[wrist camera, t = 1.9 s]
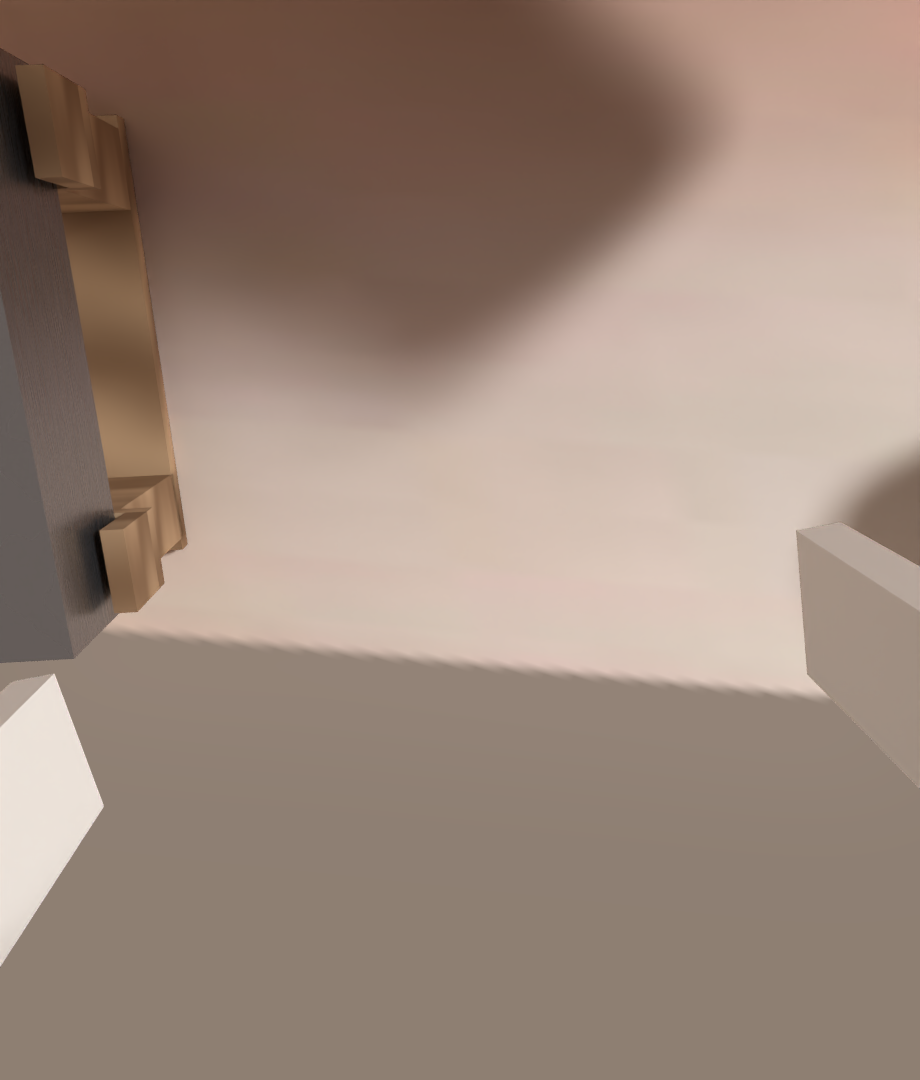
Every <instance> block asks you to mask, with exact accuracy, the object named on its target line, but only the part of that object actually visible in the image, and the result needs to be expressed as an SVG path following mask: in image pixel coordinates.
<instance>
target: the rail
mask: <svg viewBox="0 0 920 1080" xmlns="http://www.w3.org/2000/svg"><path fill="white" fill-rule="evenodd" d="M15 65H29V64H27V63H25V62H23V61H22V60H20V59H18V58H17V57H15V56H13V55H11V54H10V53H8V52H6V51H4V50H3V49H1V48H0V663H6V662H24V661H41V660H59V659H74V658H75V657H76V656H77V655H78V654H79V653H80V652H81V651H82V650H83V649H84V648H85V647H86V646H87V645H88V644H89V643H90V642H91V641H92V640H93V639H94V638H95V637H96V636H97V635H98V634H99V633H100V632H101V631H102V630H103V629H104V628H105V627H106V626H107V625H108V624H109V623H110V622H111V621H112V620H113V619H114V618H115V617H116V616H117V615H118V614H119V613H114V609H113V603H112V597H111V592H110V586H109V581H108V575H107V570H106V564H105V559H104V553H103V548H102V542H101V537H100V531H99V530H101V529H102V528H104V527H105V526H107V525H108V524H109V523H111V522H112V521H114V520H115V516H114V510H113V505H112V499H111V493H110V487H109V482H108V476H107V470H106V465H105V459H104V453H103V447H102V442H101V436H100V430H99V424H98V419H97V413H96V407H95V402H94V396H93V390H92V384H91V379H90V373H89V367H88V362H87V356H86V350H85V344H84V339H83V333H82V327H81V322H80V316H79V310H78V304H77V299H76V293H75V287H74V282H73V276H72V270H71V264H70V259H69V253H68V247H67V242H66V236H65V230H64V224H63V219H62V213H61V207H60V201H59V196H58V190H57V184H54V183H51V182H47V181H44V180H41V179H37V178H35V173H34V167H33V162H32V156H31V151H30V145H29V140H28V134H27V129H26V123H25V118H24V112H23V107H22V101H21V96H20V90H19V85H18V79H17V74H16V68H15Z"/></svg>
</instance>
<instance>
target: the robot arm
mask: <svg viewBox="0 0 920 1080" xmlns="http://www.w3.org/2000/svg"><path fill="white" fill-rule="evenodd" d="M796 534H797V547H798V560H799V573H800V586H801V599H802V612H803V625H804V638H805V651H806V664H807V674H808V675H809V676H810V677H811V678H812V679H813V681H814V682H815V683H816V684H817V685H818V686H819V687H820V688H821V689H822V690H823V691H824V692H825V693H826V694H827V695H828V696H829V697H830V698H831V699H832V700H833V701H834V702H835V703H836V704H837V705H838V706H839V707H840V708H841V709H842V710H843V711H844V712H845V713H846V714H847V715H848V716H849V717H850V718H851V719H852V720H853V721H854V722H855V723H856V724H857V725H858V726H859V727H860V728H861V729H862V730H863V732H864V733H866V734H867V736H868V737H869V738H870V739H871V740H872V741H873V742H874V743H875V744H876V745H877V746H878V747H879V748H880V749H881V750H882V751H883V752H884V753H885V754H886V755H887V756H888V757H889V758H890V759H891V760H892V761H893V762H894V763H895V764H896V765H897V766H898V767H899V768H900V769H901V770H902V771H903V772H904V773H905V774H906V775H907V776H908V777H909V778H910V779H911V780H912V781H913V782H914V784H916V786H917V787H918V788H919V789H920V566H918V565H916V564H915V563H913V562H911V561H909V560H908V559H906V558H904V557H902V556H900V555H899V554H897V553H895V552H893V551H892V550H890V549H888V548H886V547H884V546H883V545H881V544H879V543H877V542H875V541H874V540H872V539H870V538H868V537H867V536H865V535H863V534H861V533H859V532H858V531H856V530H854V529H852V528H851V527H849V526H847V525H845V524H843V523H842V522H838V523H833V524H828V525H822V526H817V527H812V528H807V529H802V530H797V531H796ZM103 807H104V805H103V803H102V800H101V798H100V795H99V792H98V789H97V786H96V784H95V781H94V779H93V776H92V773H91V771H90V768H89V765H88V763H87V760H86V757H85V754H84V752H83V749H82V746H81V744H80V741H79V738H78V736H77V733H76V730H75V728H74V725H73V723H72V720H71V717H70V714H69V712H68V709H67V706H66V704H65V701H64V698H63V696H62V693H61V690H60V688H59V685H58V682H57V679H56V677H55V674H50V675H44V676H39V677H34V678H29V679H23V680H18V681H13V682H11V683H10V684H9V685H8V686H7V687H6V688H5V689H4V690H2V692H0V966H1V964H2V963H3V961H4V960H5V958H6V957H7V955H8V953H9V952H10V950H11V949H12V947H13V946H14V944H15V943H16V941H17V940H18V938H19V937H20V935H21V933H22V932H23V930H24V929H25V927H26V926H27V924H28V923H29V921H30V919H31V918H32V916H33V915H34V913H35V912H36V910H37V909H38V907H39V906H40V904H41V903H42V901H43V900H44V898H45V896H46V895H47V893H48V892H49V890H50V889H51V887H52V886H53V884H54V883H55V881H56V879H57V878H58V876H59V875H60V873H61V871H62V870H63V869H64V867H65V866H66V864H67V862H68V861H69V859H70V858H71V856H72V855H73V853H74V851H75V850H76V848H77V847H78V845H79V844H80V842H81V841H82V839H83V838H84V836H85V835H86V833H87V831H88V830H89V828H90V827H91V825H92V824H93V822H94V821H95V819H96V817H97V816H98V815H99V813H100V811H101V810H102V808H103Z"/></svg>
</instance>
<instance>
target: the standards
mask: <svg viewBox="0 0 920 1080" xmlns="http://www.w3.org/2000/svg"><path fill="white" fill-rule="evenodd" d="M15 68H16V74H17V79H18V85H19V90H20V96H21V101H22V107H23V112H24V118H25V123H26V129H27V134H28V140H29V145H30V151H31V156H32V162H33V167H34V173H35V178H37V179H41V180H44V181H47V182H51V183H54V184H57V190H58V196H59V201H60V207H61V213H62V219H63V224H64V230H65V236H66V242H67V247H68V253H69V259H70V264H71V270H72V276H73V282H74V287H75V293H76V299H77V304H78V310H79V316H80V322H81V327H82V333H83V339H84V344H85V350H86V356H87V362H88V367H89V373H90V379H91V384H92V390H93V396H94V402H95V407H96V413H97V419H98V424H99V430H100V436H101V442H102V447H103V453H104V459H105V465H106V470H107V476H108V482H109V487H110V493H111V499H112V505H113V510H114V516H115V520H114V521H112V522H111V523H109V524H108V525H107V526H105V527H104V528H102V529H101V530H99V531H100V537H101V542H102V548H103V553H104V559H105V564H106V570H107V575H108V581H109V586H110V592H111V597H112V603H113V609H114V613H127V612H138V611H139V610H140V609H141V608H142V607H143V605H144V604H145V603H146V602H147V601H148V600H149V599H150V598H151V597H152V596H153V595H154V594H155V593H156V592H157V591H158V589H159V588H160V587H161V586H162V585H163V584H164V577H163V571H162V564H161V558H162V557H163V556H164V555H165V554H166V553H167V552H168V551H169V550H181V549H183V548H184V547H185V546H186V545H187V538H186V531H185V524H184V518H183V511H182V504H181V498H180V491H179V484H178V478H177V471H176V464H175V458H174V451H173V444H172V438H171V431H170V424H169V418H168V411H167V404H166V398H165V391H164V384H163V378H162V371H161V364H160V358H159V351H158V344H157V338H156V331H155V324H154V318H153V311H152V304H151V298H150V291H149V284H148V278H147V271H146V264H145V258H144V251H143V244H142V238H141V231H140V224H139V218H138V211H137V204H136V198H135V191H134V184H133V178H132V171H131V164H130V158H129V151H128V144H127V138H126V131H125V124H124V119H123V118H121V117H119V116H118V115H101V116H94V115H92V114H90V113H89V110H88V104H87V98H86V91H85V89H84V88H82V87H80V86H79V85H77V84H75V83H74V82H72V81H70V80H69V79H67V78H65V77H64V76H62V75H60V74H58V73H57V72H55V71H53V70H52V69H50V68H48V67H47V66H45V65H43V64H37V65H15Z"/></svg>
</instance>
